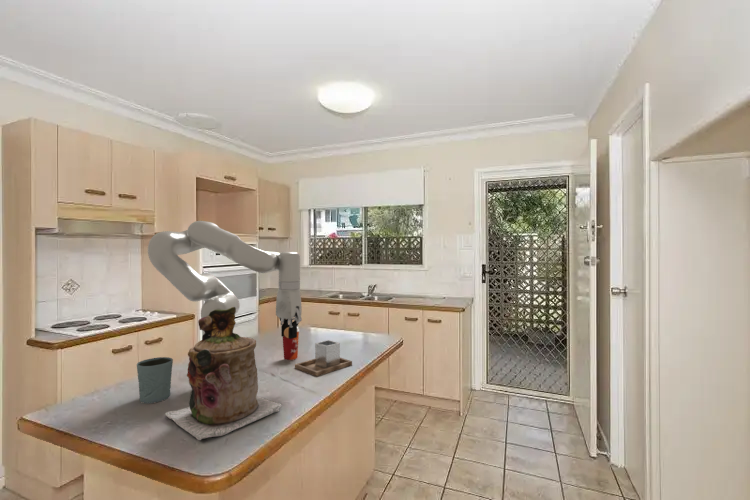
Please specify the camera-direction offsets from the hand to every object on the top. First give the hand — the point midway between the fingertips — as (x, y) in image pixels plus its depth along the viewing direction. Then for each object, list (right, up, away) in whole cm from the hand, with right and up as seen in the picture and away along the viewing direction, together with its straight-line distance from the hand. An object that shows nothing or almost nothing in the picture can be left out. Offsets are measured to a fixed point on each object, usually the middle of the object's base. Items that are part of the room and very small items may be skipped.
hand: (289, 336), depth 133 cm
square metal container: (+12, -16, +17) cm, 26 cm away
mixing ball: (0, -1, 0) cm, 1 cm away
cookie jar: (-13, -17, -24) cm, 33 cm away
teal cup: (-41, -17, -12) cm, 46 cm away
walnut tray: (+10, -17, +15) cm, 25 cm away
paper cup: (-6, -17, +28) cm, 33 cm away
